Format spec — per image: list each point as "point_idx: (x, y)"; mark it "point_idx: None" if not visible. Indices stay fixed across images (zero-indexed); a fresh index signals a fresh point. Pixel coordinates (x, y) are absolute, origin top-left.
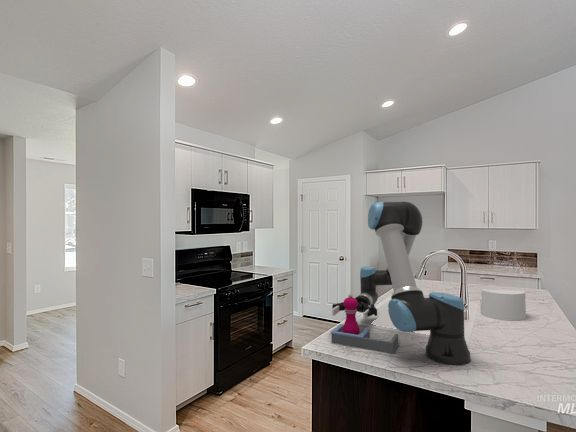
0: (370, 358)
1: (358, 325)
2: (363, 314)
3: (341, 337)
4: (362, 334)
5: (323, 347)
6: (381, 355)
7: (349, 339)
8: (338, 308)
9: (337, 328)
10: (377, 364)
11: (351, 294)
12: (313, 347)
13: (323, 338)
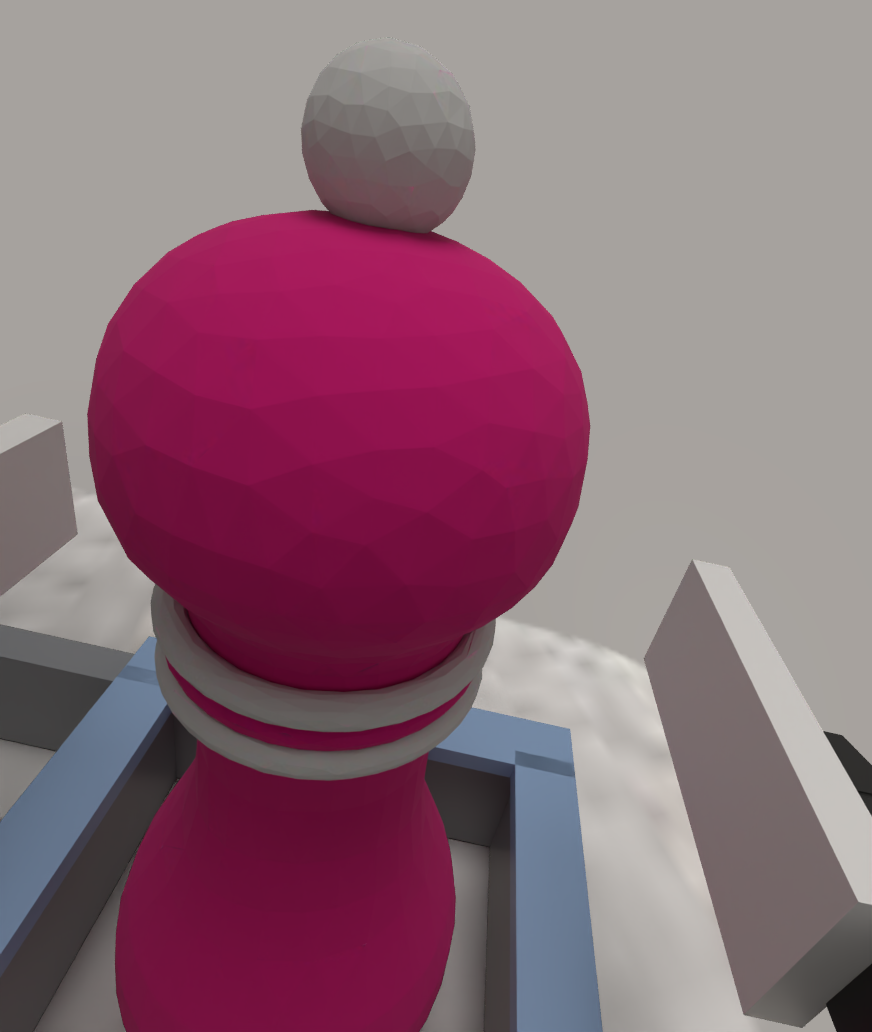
0: (136, 576)
1: (134, 882)
2: (63, 448)
3: None
4: (126, 711)
5: (547, 700)
6: (5, 623)
7: None
8: (780, 866)
9: (547, 907)
10: None
11: (349, 60)
12: (621, 689)
13: (691, 963)
